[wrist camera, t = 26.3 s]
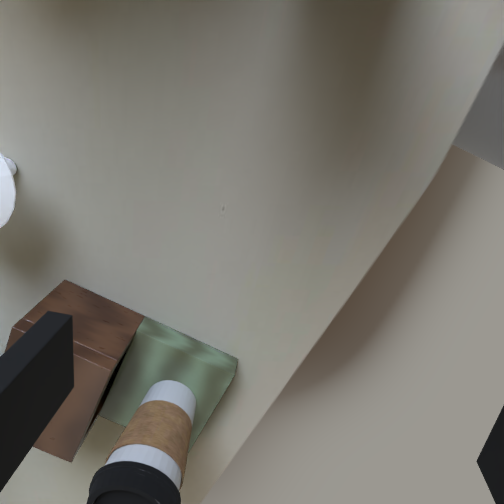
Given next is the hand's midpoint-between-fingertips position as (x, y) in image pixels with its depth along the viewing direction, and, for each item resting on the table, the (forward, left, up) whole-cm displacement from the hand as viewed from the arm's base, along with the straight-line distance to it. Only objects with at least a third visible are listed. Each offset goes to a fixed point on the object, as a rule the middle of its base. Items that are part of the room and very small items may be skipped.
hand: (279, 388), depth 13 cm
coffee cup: (0, +30, -29) cm, 42 cm away
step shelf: (+6, +30, -32) cm, 44 cm away
